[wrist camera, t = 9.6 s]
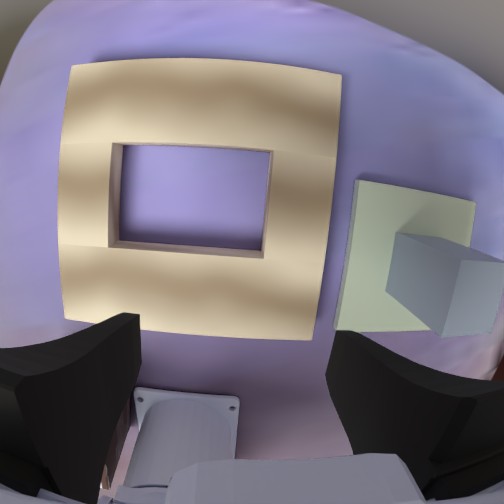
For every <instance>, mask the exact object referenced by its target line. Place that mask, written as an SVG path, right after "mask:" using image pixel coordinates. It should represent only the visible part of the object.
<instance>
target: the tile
mask: <svg viewBox="0 0 504 504" xmlns="http://www.w3.org/2000/svg"><path fill="white" fill-rule="evenodd" d="M475 208H476V202H472V201H468V200H464V199H459V198H455V197H450V196H446V195H441V194H436V193H431V192H426V191H421V190H416V189H410V188H405V187H399V186H394V185H388V184H382V183H376V182H370V181H364V180H355V184H354V193H353V202H352V211H351V219H350V226H349V234H348V241H347V248H346V255H345V261H344V268H343V274H342V280H341V286H340V292H339V297H338V303H337V308H336V314H335V319H334V324H333V328H334V329H335V331H336V330H352V331H354V332H390V331H419V330H431V329H430V328H429V327H428V326H427V325H425V324H424V323H423V322H422V321H421V320H419V319H418V318H417V317H416V316H415V315H414V314H412V313H411V312H410V311H409V310H408V309H406V308H405V307H404V306H403V305H402V304H400V303H399V302H398V301H397V300H396V299H394V298H393V297H392V296H391V295H389V294H388V293H387V292H386V291H385V289H386V284H387V279H388V274H389V269H390V263H391V258H392V252H393V246H394V239H395V233H396V232H398V233H407V234H416V235H425V236H433V237H441V238H444V239H447V240H450V241H453V242H455V243H458V244H461V245H463V246H466V247H470V241H471V235H472V229H473V223H474V216H475Z"/></svg>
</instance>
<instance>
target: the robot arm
mask: <svg viewBox="0 0 504 504" xmlns="http://www.w3.org/2000/svg"><path fill="white" fill-rule="evenodd" d="M141 363H142V359H141V337H140V314H134V313H127V312H123V313H120V314H117V315H115V316H113V317H110V318H108V319H106V320H104V321H102V322H100V323H98V324H95V325H93V326H91V327H89V328H86V329H84V330H81V331H79V332H76V333H74V334H72V335H69V336H66V337H63V338H60V339H57V340H53V341H49V342H45V343H41V344H35V345H29V346H24V347H15V348H0V504H504V381H489V380H479V379H472V378H466V377H460V376H456V375H452V374H448V373H444V372H441V371H437V370H434V369H431V368H429V367H426V366H423V365H420V364H418V363H416V362H413V361H411V360H409V359H407V358H405V357H403V356H400V355H398V354H396V353H395V352H393V351H391V350H389V349H387V348H385V347H383V346H381V345H380V344H378V343H376V342H374V341H372V340H371V339H369V338H367V337H365V336H363V335H361V334H359V333H357V332H354V331H352V330H336V334H335V338H334V342H333V346H332V351H331V355H330V359H329V363H328V367H327V370H326V374H325V376H326V381H327V385H328V389H329V393H330V396H331V399H332V401H333V404H334V406H335V408H336V411H337V413H338V415H339V418H340V420H341V422H342V424H343V427H344V429H345V431H346V434H347V436H348V438H349V441H350V444H351V447H352V450H353V454H354V455H349V456H339V457H328V458H314V459H293V460H246V459H234V458H235V448H236V437H237V426H238V415H239V404H240V403H239V399H238V398H237V397H236V396H223V395H208V394H196V393H185V392H175V391H166V390H158V389H150V388H143V387H137V388H135V390H134V401H135V407H136V414H137V420H138V426H139V434H138V437H137V441H136V444H135V447H134V450H133V454H132V457H131V460H130V464H129V467H128V470H127V474H126V477H125V481H124V484H123V486H118V489H117V492H116V495H115V499H114V501H113V498H111V497H108V496H105V495H104V496H102V497H101V498H99V499H98V496H99V491H100V485H101V480H102V475H103V471H104V466H105V462H106V458H107V454H108V450H109V447H110V443H111V440H112V436H113V433H114V430H115V428H116V425H117V423H118V421H119V418H120V416H121V414H122V412H123V410H124V407H125V405H126V403H127V401H128V399H129V397H130V394H131V392H132V390H133V388H134V385H135V383H136V380H137V377H138V374H139V370H140V366H141ZM139 397H141V398H143V399H140V398H139ZM231 406H234V408H230V407H231Z"/></svg>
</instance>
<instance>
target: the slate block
mask: <svg viewBox="0 0 504 504" xmlns="http://www.w3.org/2000/svg"><path fill="white" fill-rule="evenodd" d="M503 290H504V261H502V260H499V259H497V258H494V257H492V256H489V255H487V254H484V253H482V252H479V251H477V250H474V249H471V248H469V247H466V246H463V245H461V244H458V243H455V242H453V241H450V240H447V239H444V238H441V237H433V236H425V235H416V234H407V233H398V232H396V233H395V239H394V246H393V252H392V258H391V263H390V269H389V274H388V279H387V284H386V289H385V291H386V292H387V293H388V294H389V295H391V296H392V297H393V298H394V299H396V300H397V301H398V302H399V303H400V304H402V305H403V306H404V307H405V308H406V309H408V310H409V311H410V312H411V313H412V314H414V315H415V316H416V317H417V318H418V319H419V320H421V321H422V322H423V323H424V324H425V325H427V326H428V327H429V328H430V329H431V330H432V331H434V332H435V333H436V334H437V335H438V336H439V337H440V338H445V337H457V336H467V335H477V334H486V333H491V331H492V328H493V325H494V321H495V318H496V315H497V312H498V308H499V305H500V301H501V298H502V294H503Z"/></svg>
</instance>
